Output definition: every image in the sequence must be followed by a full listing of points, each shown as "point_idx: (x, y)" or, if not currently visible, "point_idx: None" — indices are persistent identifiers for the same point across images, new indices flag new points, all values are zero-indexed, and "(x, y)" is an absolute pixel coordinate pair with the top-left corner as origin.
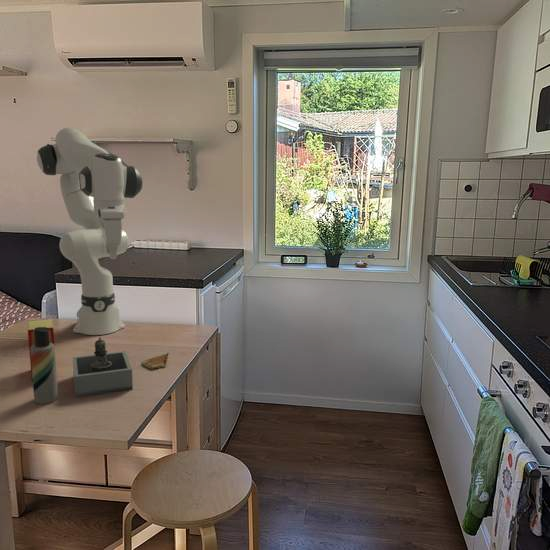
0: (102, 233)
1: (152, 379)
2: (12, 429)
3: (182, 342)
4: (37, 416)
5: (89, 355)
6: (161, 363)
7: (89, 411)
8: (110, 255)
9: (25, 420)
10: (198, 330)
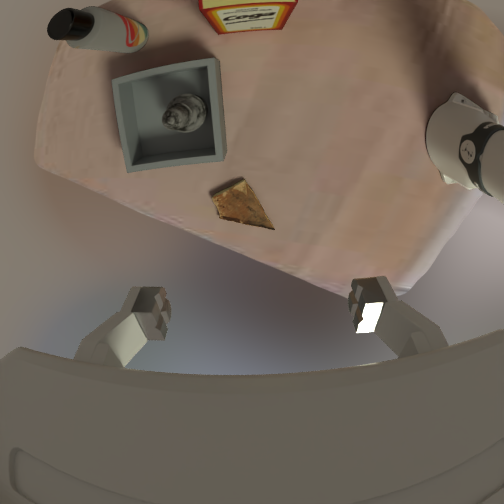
0: (473, 375)
1: (172, 191)
2: None
3: (328, 256)
4: None
5: (215, 89)
6: (224, 212)
7: (85, 108)
8: (125, 303)
9: None
10: None
